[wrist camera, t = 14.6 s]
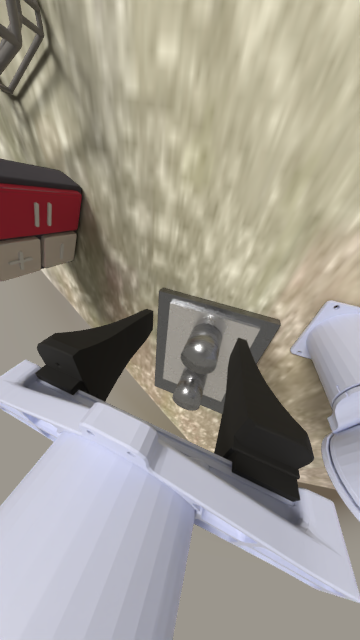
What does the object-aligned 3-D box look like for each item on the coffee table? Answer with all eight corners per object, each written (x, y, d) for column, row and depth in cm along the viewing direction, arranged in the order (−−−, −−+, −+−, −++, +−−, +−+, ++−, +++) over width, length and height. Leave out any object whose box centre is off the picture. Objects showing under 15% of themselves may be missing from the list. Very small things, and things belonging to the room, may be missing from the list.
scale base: (279, 319, 20) (281, 326, 19) (225, 409, 35) (224, 416, 34) (162, 287, 24) (158, 291, 22) (157, 381, 38) (154, 386, 37)
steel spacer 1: (226, 329, 22) (221, 355, 18) (217, 351, 24) (210, 378, 20) (195, 319, 23) (183, 342, 19) (189, 341, 25) (178, 366, 21)
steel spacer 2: (204, 368, 27) (196, 395, 24) (207, 385, 30) (201, 412, 26) (180, 366, 29) (169, 390, 25) (185, 382, 31) (176, 407, 27)
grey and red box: (77, 263, 27) (-57, 305, 15) (54, 246, 26) (-99, 276, 15) (87, 190, 20) (-142, 166, 8) (58, 166, 20) (-225, 106, 8)
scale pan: (259, 326, 20) (260, 329, 20) (221, 398, 31) (220, 401, 31) (171, 300, 23) (170, 302, 22) (164, 376, 34) (162, 378, 33)
